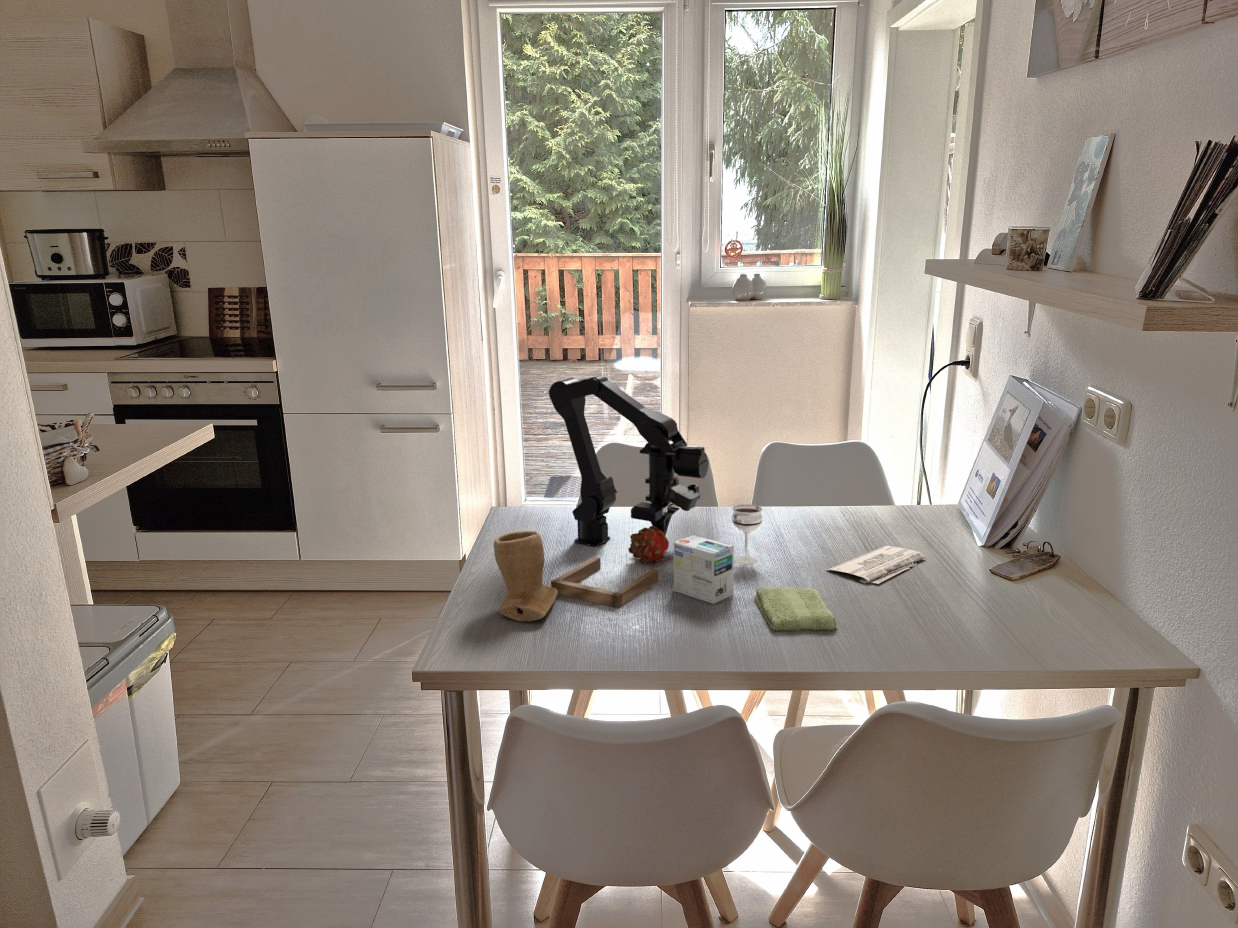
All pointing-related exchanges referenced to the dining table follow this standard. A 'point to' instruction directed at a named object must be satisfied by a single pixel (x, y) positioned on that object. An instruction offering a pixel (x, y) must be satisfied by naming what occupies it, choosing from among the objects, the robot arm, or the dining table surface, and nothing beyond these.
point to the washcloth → (794, 609)
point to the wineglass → (746, 525)
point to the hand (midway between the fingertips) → (661, 539)
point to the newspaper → (880, 563)
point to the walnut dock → (570, 588)
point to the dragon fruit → (649, 544)
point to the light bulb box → (703, 568)
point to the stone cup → (523, 576)
